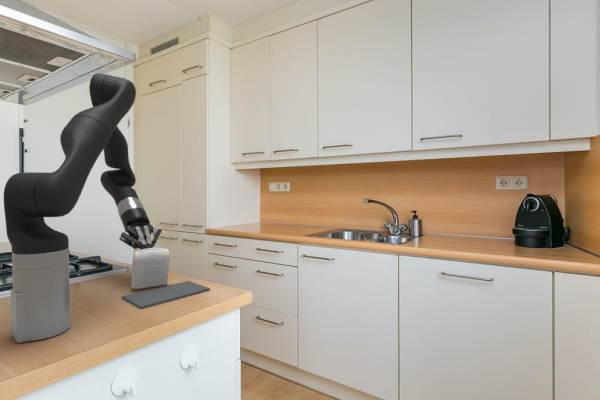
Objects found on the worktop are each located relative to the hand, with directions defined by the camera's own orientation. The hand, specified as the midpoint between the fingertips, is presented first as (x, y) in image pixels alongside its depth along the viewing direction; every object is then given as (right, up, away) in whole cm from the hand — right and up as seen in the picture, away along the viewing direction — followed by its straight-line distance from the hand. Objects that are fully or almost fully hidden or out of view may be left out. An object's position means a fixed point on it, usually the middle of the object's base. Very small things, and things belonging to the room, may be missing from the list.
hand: (150, 256), depth 99 cm
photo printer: (0, -9, +1) cm, 9 cm away
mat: (+8, -10, -6) cm, 14 cm away
